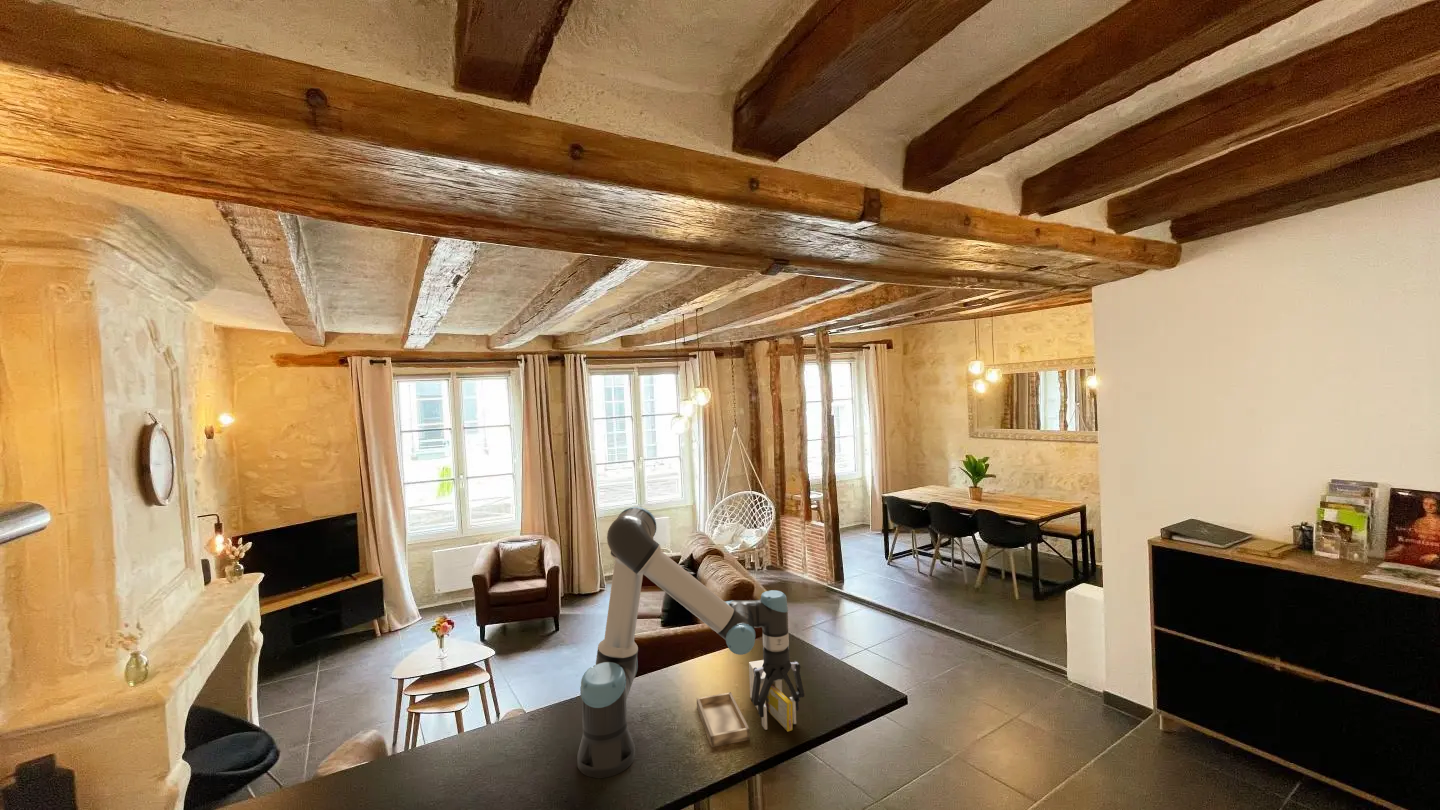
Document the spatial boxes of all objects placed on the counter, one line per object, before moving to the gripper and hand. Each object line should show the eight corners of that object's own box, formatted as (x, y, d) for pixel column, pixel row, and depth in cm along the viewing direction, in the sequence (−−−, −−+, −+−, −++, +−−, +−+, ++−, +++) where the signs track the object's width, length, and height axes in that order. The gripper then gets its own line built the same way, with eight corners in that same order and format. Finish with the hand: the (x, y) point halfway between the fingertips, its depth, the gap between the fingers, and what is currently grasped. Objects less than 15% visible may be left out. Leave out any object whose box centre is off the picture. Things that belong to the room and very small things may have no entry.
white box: (761, 716, 166) (759, 679, 166) (750, 697, 177) (748, 662, 177) (783, 712, 168) (782, 675, 168) (771, 693, 179) (770, 658, 178)
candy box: (793, 730, 159) (792, 701, 159) (787, 732, 158) (786, 703, 158) (766, 702, 174) (765, 676, 174) (760, 704, 173) (759, 677, 173)
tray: (711, 747, 153) (711, 736, 153) (696, 707, 172) (696, 698, 172) (749, 739, 155) (749, 729, 155) (731, 701, 175) (730, 692, 175)
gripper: (744, 657, 155) (748, 738, 155) (814, 646, 160) (817, 724, 160) (737, 646, 162) (740, 723, 163) (804, 635, 167) (807, 710, 168)
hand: (779, 724), depth 161 cm, fingers open, 8 cm apart
